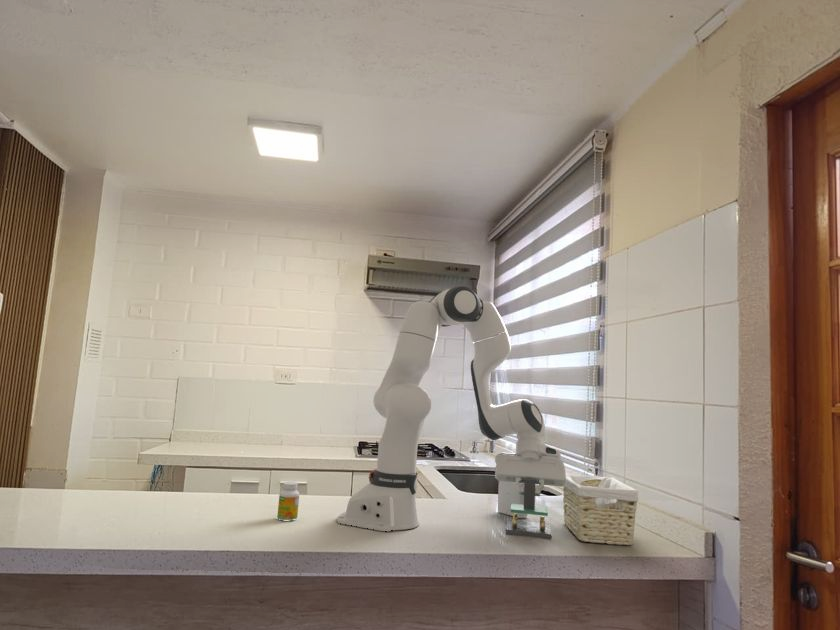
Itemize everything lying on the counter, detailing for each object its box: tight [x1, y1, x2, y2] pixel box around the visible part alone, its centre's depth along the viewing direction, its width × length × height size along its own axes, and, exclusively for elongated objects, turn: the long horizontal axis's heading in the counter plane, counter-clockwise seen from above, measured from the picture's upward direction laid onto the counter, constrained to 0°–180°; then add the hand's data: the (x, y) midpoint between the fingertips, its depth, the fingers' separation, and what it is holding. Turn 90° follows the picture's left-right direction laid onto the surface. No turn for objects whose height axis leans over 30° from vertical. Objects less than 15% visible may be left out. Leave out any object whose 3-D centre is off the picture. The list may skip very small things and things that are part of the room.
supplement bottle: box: [276, 481, 300, 521], centre depth 148 cm, size 5×5×10 cm
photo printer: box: [497, 481, 528, 519], centre depth 170 cm, size 10×4×12 cm, turn 39°
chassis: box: [505, 513, 552, 540], centre depth 151 cm, size 12×12×4 cm
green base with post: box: [511, 478, 549, 517], centre depth 152 cm, size 10×8×9 cm
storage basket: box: [562, 473, 639, 546], centre depth 153 cm, size 24×16×15 cm
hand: (529, 494), depth 152 cm, fingers closed on green base with post, 3 cm apart
